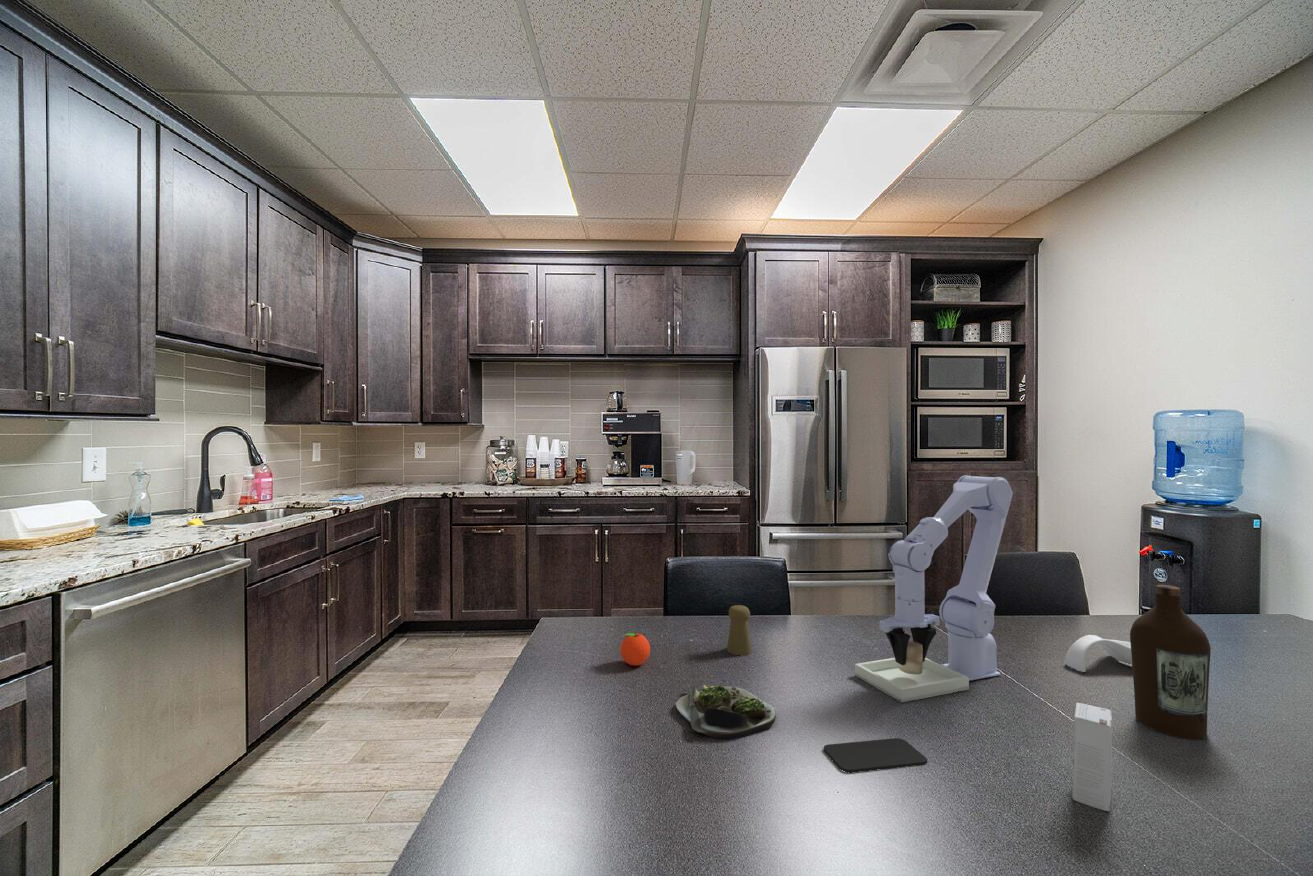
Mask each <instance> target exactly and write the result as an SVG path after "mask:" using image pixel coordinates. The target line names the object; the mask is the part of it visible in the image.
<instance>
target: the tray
mask: <svg viewBox="0 0 1313 876" xmlns="http://www.w3.org/2000/svg"><path fill="white" fill-rule="evenodd" d="M854 676H855V677H857V678H859V679H860V680H862V681H864V682H866V683H867V684H869V685H870V686H872V687H874V688H876V689H877V690H879V691H881V692H882V693H884V694H886V695H888V696H889V697H891V696H892V697H891V698H894V699H895V700H897V701H898V702H900V703H907V702H911V701H917V700H921V699H927V698H928V699H929V698H932V697H933V698H934V697H937V696H943V695H948V694H953V692H954V693H957V692H958V691H959V692H964V691H969V690H970V681H969V677H967V676H965V675H963V674H960V673H958V672H956V671H954V670H952V669H949V668H947V667H945V666H943V665H942V664H940V663H939V662H935V661H934V660H932V659H929V658H927V657H925V661H924V662H923V668H922V673H921V674H917V675H914V674H908V673H905V672H902V671H901V670H899V663H897V662H896V660H895V657H891V658H885V659H878V660H873V661H872V660H871V661H866V662H865V661H863V662H858V663H855V664H854Z"/></svg>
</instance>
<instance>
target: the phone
mask: <svg viewBox="0 0 1313 876" xmlns="http://www.w3.org/2000/svg"><path fill="white" fill-rule="evenodd" d="M823 752H824V753H825V755H826V754H827V755H828V756H829V757H830V758H831V759H830V758H829V757H828V756H827V755H826V756H827V757H828V758H829V759H830V760H831V761H832V760H833V761H832V762H833V763H835V764H836V765H837V766H838V767H837V766H836V765H835V764H834V765H835V766H836V767H837V768H838V769H839V770H840V769H841V770H843V771H845V772H847V773H846V774H853V773H852V772H856V773H860V772H859V771H866V772H870V771H869V770H875V771H878V770H877V769H882V770H888V769H897V767H899V768H905V766H908V767H914V766H913V765H916V766H924V765H927V764H928V759H927V757H926V756H924V754H922V753H921V752H920V751H919V750H917V749H916V748H915V747H914V746H913V745H912V744H911V743H909V742H908V741H906V740H905V739H903V738H898V737H895V738H894V737H892V738H884V739H872V740H862V741H853V742H852V741H851V742H842V743H832V744H831V743H829V744H826V745H824V746H823ZM926 763H927V764H926ZM841 770H840V771H841ZM843 771H842V772H843ZM845 772H844V773H845ZM848 772H849V773H848Z"/></svg>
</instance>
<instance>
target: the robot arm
mask: <svg viewBox="0 0 1313 876" xmlns="http://www.w3.org/2000/svg"><path fill="white" fill-rule="evenodd" d="M1013 494H1014V492H1013V490H1012V488H1011V485H1010V483H1009V482H1008V480H1007V479H1006V478H1005V477H1001V476H997V477H996V476H995V477H993V476H991V477H989V476H973V475H969V474H966V475H962V476H960V477H959V478H958V480H957V481H956V482H955V483H954V484H953V485H952V493H951V495H949V497H948V499H947V500H946V501H945V502H944V503H943V504H942V505H941V507H940V508H939V510H938V511H937V512H936V513H935V515H934V516H933V517H931V516H929V517H928V516H927V517H924V518H922V519H921V520H920V521H919V524H918V525H916V527H914V528H913V530H912V531H911V532H910V533H909V534H908V535H906V537H905V538H904V540H903V539H901V540H897V541H896V542H894V543H893V544H892V546H891V547H890V549H889V550H890V551H889V552H888V559H889V561H890V563H891V564H892V572H893V574H894V606H895V607H894V611H895V613H894V615H893V616H891V617H888V618H886V619H882V620H879V621H878V622H879V623H878V624H879V631H882V632H884V634H885V636H886V637H887V639H888V641H889V643H890V646H891V648H892V652H893V656H894V658H895V660H896V662H897V663H899V664H901V665H905V664H906V655H907V646H908V642H909V640H910V639H911V637H912V641H915V642H918V643H920V644H922V645H923V662H924V661H925V658H927V653H928V650H929V648H930V645H931V643H932V641H933V639H934V637H936V634H937V629H936V628H933V627H932V626H935V627H936V626H940V625H941V624H940V622H941V621H942V622H943V623H944V624H945V625H944V627H945V629H947V640H948V641H947V642H948V643H947V645H948V646H947V648H948V649H947V650H948V651H947V653H948V654H947V656H948V658H947V661H948V663H943V664H941V665H943V666H945V667H947V668H949V669H952V670H954V671H956V672H958V673H960V674H963V675H965V676H967V677H969V682H970V681H975V680H981V679H985V678H991V677H997V676H1000V675H1001V672H999V671H998V670H997V669H998V668H997V660H998V659H997V644H996V640H995V638H994V637H993V635H992V631H993V629H994V626H995V609H996V604H995V603H994V602H993V600H992V599H991V598H990V597H989V595H988V593H987V591H988V586H989V584H990V583H989V582H990V580H991V575H992V571H993V570H994V569H993V568H994V565H995V563H996V562H995V560H996V557H997V555H998V550H999V546H1000V543H1001V540H1002V536H1003V532H1004V528H1005V524H1006V520H1007V516H1008V514H1009V510H1010V506H1011V502H1012V500H1013ZM968 510H969V512H970V513H971V514H973V515H974V517H975V518H976V522H975V526H974V530H973V534H972V537H971V541H970V543H969V544H970V545H969V547H968V551H967V556H966V560H965V563H964V565H963V570H962V573H961V577H960V580H959V584H958V585H955V586H954V587H952V588H950V589H948V590H947V593H946V596H945V597H944V599H943V600H942V602H941V604H940V606H939V613H938V614H939V615H935V614H933V613H930V614H929V613H927V614H925V612H926V611H925V605H926V603H925V570H926V569H927V568H929V567H930V565H931V563H932V557H933V555H934V553H935V552H934V551H935V550H936V549H937V548H938V547H939V546H940V545H941V544H942V543H943V542H944V541H945V539H947V537H948V536H949V530H948V528H949V527H950V526H952V524H954V523H955V521H957V519H959V518H960V517H961V516H962V515H963V514H964V513H965V512H966V511H968ZM974 603H975V604H974ZM940 619H941V621H940ZM905 629H910V632H911V635H910V634H908V633H906V632H905Z"/></svg>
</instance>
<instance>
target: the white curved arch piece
mask: <svg viewBox="0 0 1313 876" xmlns="http://www.w3.org/2000/svg"><path fill="white" fill-rule="evenodd" d="M1098 644H1100V645H1101V646H1102V648H1103V649H1104V650H1105V651H1106V652H1107V653H1108V654H1109V655H1110V656H1111V657H1112V658H1113V659H1114V658H1115V659H1117V660H1119V661H1122V662H1125V663H1128V664H1132V655H1131V643H1130V641H1125V640H1117V639H1107V638H1102V637H1100V636H1098V635H1095V634H1088V635H1084V636H1081V637H1080V638H1078V639H1077V640H1076V641H1074V643H1073V644H1072V645H1071V646H1070V647H1069V649H1068V650H1067V653H1066V655H1065V658H1064V662H1063V663H1064V664H1063V665H1065V664H1067V665H1069V666H1071V667H1073V668H1076V669H1079V670H1080V671H1083V672H1087V670H1086V665H1087V664H1086V663H1087V662H1086V659H1087V655H1088V652H1089V650H1091V648H1093V647H1094V646H1095V645H1098ZM1115 659H1114V660H1115Z"/></svg>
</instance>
